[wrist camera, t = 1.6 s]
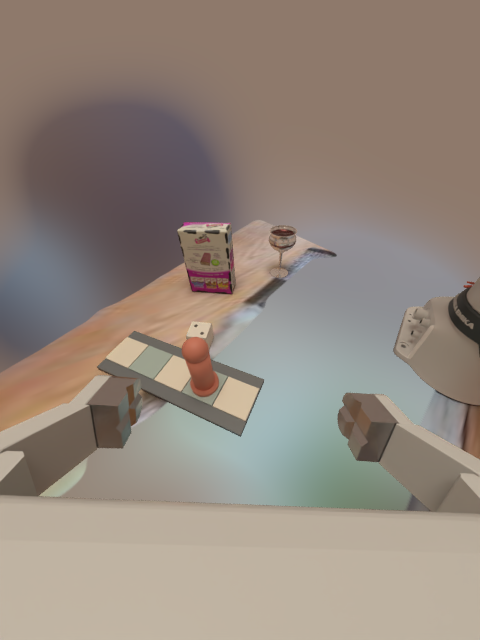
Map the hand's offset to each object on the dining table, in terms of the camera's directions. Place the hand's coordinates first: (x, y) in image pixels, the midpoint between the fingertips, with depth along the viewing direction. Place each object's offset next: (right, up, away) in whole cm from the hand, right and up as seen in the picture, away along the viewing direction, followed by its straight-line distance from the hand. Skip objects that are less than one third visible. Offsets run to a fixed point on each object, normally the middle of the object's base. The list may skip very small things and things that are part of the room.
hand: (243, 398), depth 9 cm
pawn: (-6, -8, +30) cm, 32 cm away
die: (-8, -2, +38) cm, 39 cm away
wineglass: (+11, +16, +55) cm, 59 cm away
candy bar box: (-7, +12, +52) cm, 53 cm away
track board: (-12, -7, +33) cm, 36 cm away
